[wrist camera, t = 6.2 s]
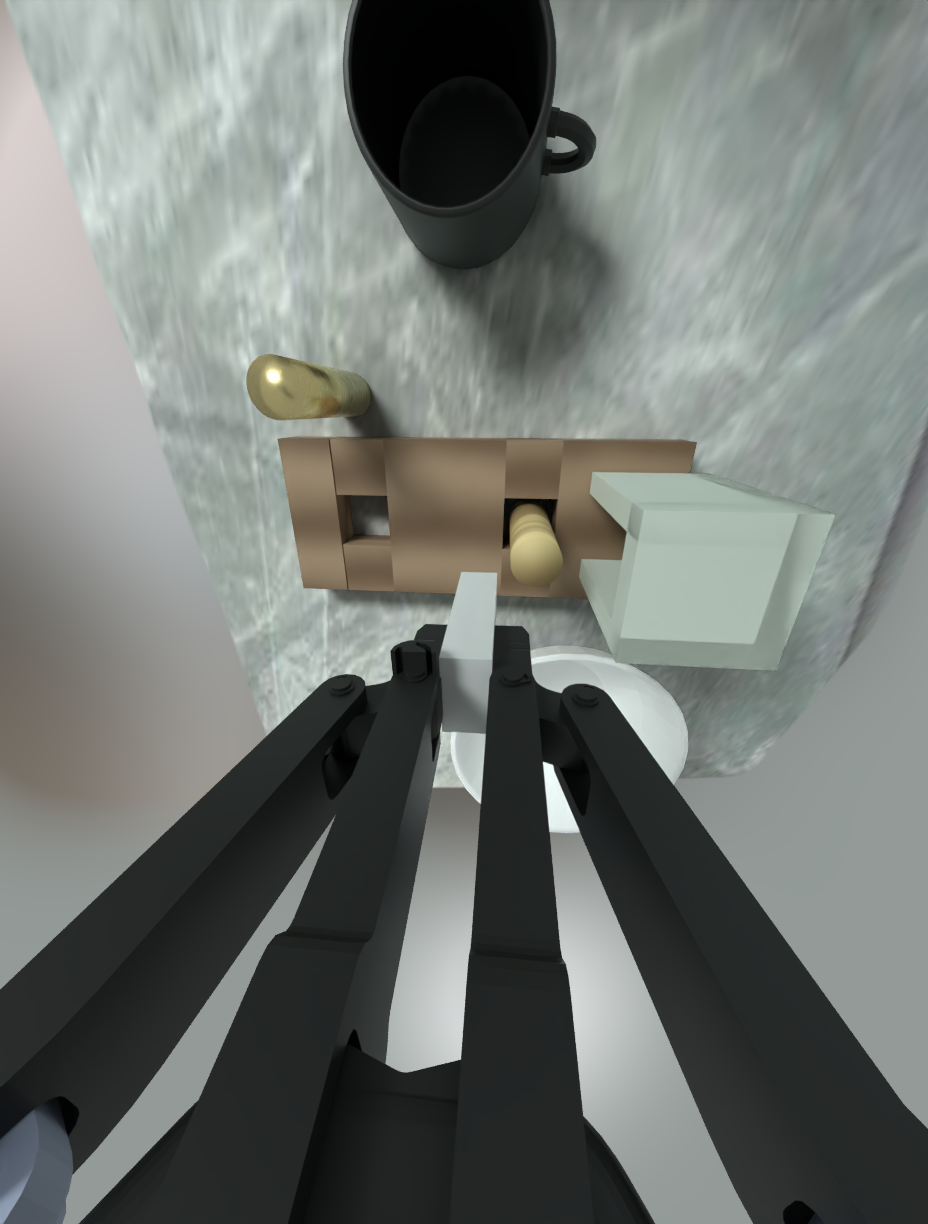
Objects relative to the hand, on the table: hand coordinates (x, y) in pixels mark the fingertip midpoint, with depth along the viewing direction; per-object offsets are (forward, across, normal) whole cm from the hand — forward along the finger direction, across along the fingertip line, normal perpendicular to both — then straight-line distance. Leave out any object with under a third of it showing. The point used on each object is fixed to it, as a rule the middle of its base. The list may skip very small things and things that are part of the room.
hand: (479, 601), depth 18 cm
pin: (+19, -11, +8) cm, 24 cm away
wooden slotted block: (+19, -1, -1) cm, 19 cm away
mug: (+20, -1, +20) cm, 28 cm away
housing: (+16, +11, -1) cm, 19 cm away
